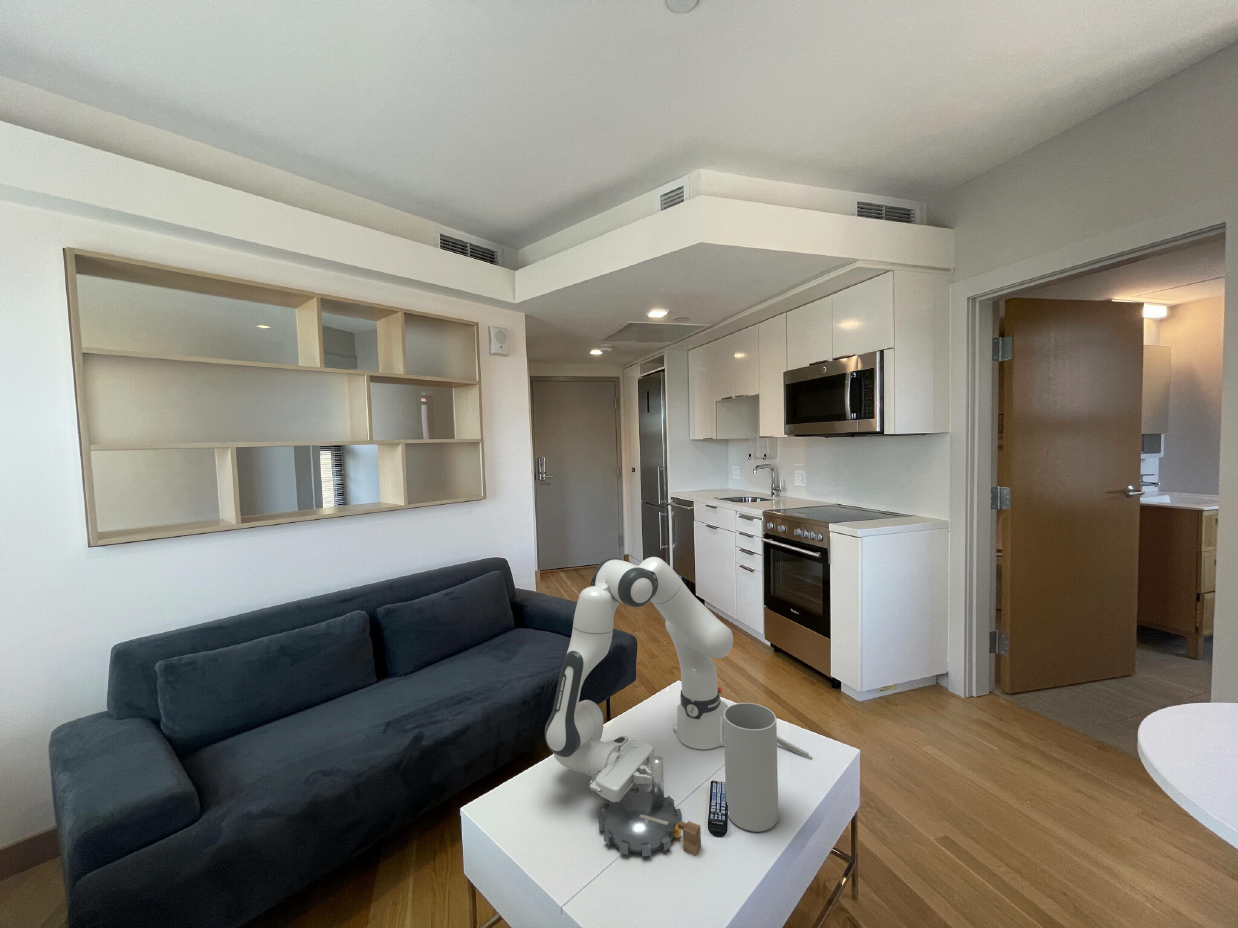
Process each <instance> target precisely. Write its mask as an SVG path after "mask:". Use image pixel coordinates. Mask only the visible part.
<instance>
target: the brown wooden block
mask: <svg viewBox="0 0 1238 928" xmlns="http://www.w3.org/2000/svg"><path fill="white" fill-rule="evenodd" d="M678 829H681V831H682V841H683V842H682V844H683V845H682V846H683V847H682V848H683V849H682V850H683V851H684V852H686V853H688V854H691V855H692V856H697V855H698V853H699V851H700V849H701V847H702V836H701V835H702V833H701V825H700V824H697V823H695V822H692V821H690V820H688V821H687V822H685V821H683V820H682V821H679V822H678Z"/></svg>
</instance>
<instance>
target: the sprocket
mask: <svg viewBox="0 0 1238 928" xmlns="http://www.w3.org/2000/svg"><path fill="white" fill-rule="evenodd" d="M650 765H651V766H650V768H651V769H650V771H651V774H652V784H651V788H650V789H649V790H640V788H639V787H634V788H632V787H631V788H630V791H628V792H627V793H626V794H625V795H624V796H623V798H622V799H621V800H620V801H619V802H612V801H609V802H604V803H603V804H602V806H601V807H600V808H601V810H600V811H601V812H600V813H601V814H600V815H602V816H598V829H599V830H598V831H599V832H600V831H603V841H604V842H605V843H606V845H607V846H610V845H614V846H615V847H617V848H618V849H619V853H621V854H622V855H626V856H629V854H630V853H637V854H638V853H639V854H641V857H649V856H652V852H654V851H658V850H663V851H664V852H665V851H666V850H668V849H669V848H671V847H672V841H673V839H674V838H678V839H679V838H680V836H681V834H682V830H681V829H678V823H679V821H682V822H683V814H682V811H681V808H676V807H675V799H673V798H672V797H671V796H670V795H668V796H666V797H665V777H664V773H665V772H664V758H663V757H662V756H660V755H654V756H653V757H652V758H651V764H650Z"/></svg>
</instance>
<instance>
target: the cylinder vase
mask: <svg viewBox="0 0 1238 928" xmlns="http://www.w3.org/2000/svg"><path fill="white" fill-rule="evenodd" d="M777 727H778V726H777V716H776V714H775V712H774V711H773V710H771V709H770V708H768V707H766V706H763V705H761V704H758V703H752V702H738V703H734V704H731V705H728V707H727V708H726V709H725V711H724V746H723V747H724V749H723V750H724V775H725V776H724V777H725V778H724V779H725V780H724V781H725V803H726V802H727V805H728V812H729V817H728V818H729V820H731V822H732V823H733V824H734V825H736V826H737V827H738V828H740V829H743V830H745V831H748V832H756V833H759V832H766V831H768V830H770V829H772V828H773V827H775V825H776V824H777V822H778V820H779V783H778V782H779V779H778V777H779V775H778V773H779V772H778V747H777V746H778V743H777V734H778V732H777Z"/></svg>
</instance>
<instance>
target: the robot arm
mask: <svg viewBox="0 0 1238 928" xmlns="http://www.w3.org/2000/svg"><path fill="white" fill-rule="evenodd" d="M649 602H651V603H652V605H653V606H654V608H656V609H657V611H658V612H659V613H660V615H661V616H662V617H663V619H664V620H665V630H666V631H667V633H668V634H669V636H670V638H671V640H672V642H673V645H674V648H675V650H676V651H675V652H676V654H677V658H678V662H679V666H680V679H681V690H680V694H679V695H680V697H679V699H680V703H679V704H678V705H677V708H676V709H677V710H676V711H677V712H676V723H675V724H674V725H673V726H672V728H673V729H672V730H673V731H674V733H676V734H677V738H678V740H679V741H680V742H681V744H683V745H685V746H687V747H688V748H691V749H694V750H695V749H696V750H712V749H716V748H719V747H724V711H725V709H726V708H727V707H729V705H728V704H727V703H726V702H724V701H723V700H721V695H720V694H722V693H723V687H722V686H719V685H718V669H717V666H716V663H715V662H714V660H713V659H712V658H716V659H722V658H724V657H726V656H727V655H728V654H729V653H730V652H731V650H732V648H733V644H734V635H733V634H734V633H733V631H732V629H730V627H728V626H727V625H726V624H725V623H723V622H722V621H721V620H720V619H719V618H717V616H716V615H715V614H713V613H712V611H711V610H710V609H708V607H706V606H705V605H704V604H703V603H702V602H701V601H700V600H699V599H698V598H697V597H695V595H694V594H693V593H692V591H690V589H689V587H688V586H687V585H686V584H685V583H684V581H683V580H682V579H681V578H680V576H679V575H678V574H677V572H675V570H674V569H673V568H672V567H671V566H670V565H669V564H668V563H667V562H666V561H664V560H663V559H662V558H660V557H657V556H651V557H647V558H645V559H644V560H642V561H641V562H640V563H639V565H637V564H634V563H633V562H629V561H625V560H622V559H621V558H617V557H616V558H615V557H609V558H605V559H603V560H601V561H600V562H599V563H598V565H597V566H596V568H595V571H594V573H593V576H592V578H591V580H590V586H588V587H586V588H584V589H582V590H581V592H580V593H579V595H578V598H577V603H576V606H575V611H574V616H573V622H572V631H571V637H570V642H569V646H568V649H567V652H566V655H565V656H564V659H563V662H562V665H561V668H560V672H559V676H558V677H559V679H558V683H557V687H556V693H555V696H554V701H553V707H552V710H551V713H550V715H549V717H548V720H547V721H546V724H545V727H544V739H545V743H546V745H547V747H548V749H549V750H550V751H551V752H552V753H553V756H554V758H555V760H556V761H557V762H558V763H559V764H560V765H562V766H563V767H565V768H567V769H568V770H571V771H573V772H576V773H578V774H586V775H588V776H589V777H590V778H591V779H589V782H588V787H589V789H590V790H591V791H594V792H596V793H597V794H598V795H599V796H601V797H602V798H603V799H606V800H607V801H609V802H611V801H612V802H619V801H620V800H621V799H622V798H623V796H624V795H625V794H626V793H627V792H629V790H631V789H632V787H633V786H634V784H636V785H641V784H648V785H651V786H652V774H651V769H649V766H650V765H651V758H652V757H653V756H655V749H654V747H653V745H652V744H649V743H647V742H643V741H641V740H637V739H629V738H628V736H626V735H621V736H619V737H617V738H615V739H611V740H609V741H606V742H605V741H602V740H601V739H602V735H603V730H604V723H605V717H604V713H603V710H602V709H601V706H599V704H597V703H596V702H595V701H593V700H591V699H582V701H580V696H581V690H582V687H583V684H584V682H585V680H586V678H587V677H588V675H589V674H591V672H592V670H593V669H594V668H595V667H596V666H597V665H598V664H600V662H601V661H602V660H603V659H604V658H605V657H606V656H607V655H608V653H609V650H610V647H611V644H612V639H613V632H614V620H615V618H614V617H615V614H616V613H615V612H616V610H617V608H618V606H619V605H620V603H622V604H624V605H625V606H628V607H631V608H641V607H643V606H646V605H647V604H649Z"/></svg>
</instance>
